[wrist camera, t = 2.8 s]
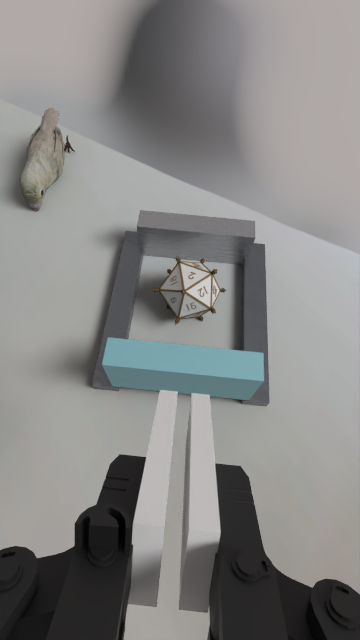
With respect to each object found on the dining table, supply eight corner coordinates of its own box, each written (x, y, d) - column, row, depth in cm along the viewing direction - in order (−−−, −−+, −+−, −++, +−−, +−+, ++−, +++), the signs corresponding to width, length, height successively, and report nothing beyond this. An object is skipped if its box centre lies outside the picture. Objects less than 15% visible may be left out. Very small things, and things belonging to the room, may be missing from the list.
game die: (175, 312, 51) (149, 252, 46) (230, 296, 49) (209, 232, 44) (170, 348, 44) (139, 282, 39) (235, 331, 42) (210, 259, 37)
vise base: (94, 388, 42) (83, 372, 36) (126, 237, 53) (122, 208, 48) (266, 406, 41) (280, 392, 36) (262, 250, 53) (272, 222, 47)
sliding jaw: (112, 386, 40) (101, 364, 34) (117, 362, 41) (107, 337, 35) (248, 400, 40) (264, 381, 33) (248, 375, 41) (263, 352, 35)
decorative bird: (19, 211, 55) (0, 171, 48) (49, 147, 63) (35, 106, 56) (52, 214, 55) (37, 175, 48) (78, 150, 62) (68, 109, 56)
